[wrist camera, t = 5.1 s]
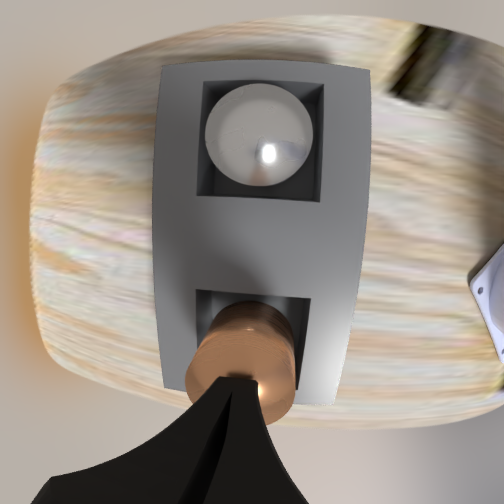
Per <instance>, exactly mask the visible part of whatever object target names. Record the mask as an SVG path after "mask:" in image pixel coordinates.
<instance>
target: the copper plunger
mask: <svg viewBox="0 0 504 504" xmlns="http://www.w3.org/2000/svg"><path fill="white" fill-rule="evenodd" d="M219 376H223V377H231V378H240V379H249V380H256V381H257V382H258V383H259V385H258V394H259V401H260V406H261V410H262V414H263V417H264V421H265V424H266V425H269V424H271V423H273V422H276V421H277V420H279V419H280V418H282V417H283V416H284V415H285V414H286V413H287V412H288V411H289V409H290V408H291V406H292V404H293V402H294V399H295V391H296V390H295V358H294V336H293V330H292V327H291V325H290V323H289V321H288V320H287V318H286V317H285V316H284V315H283V314H282V313H281V312H280V311H279V310H277V309H276V308H275V307H273V306H271V305H269V304H266V303H263V302H259V301H251V300H246V301H239V302H235V303H232V304H230V305H228V306H226V307H225V308H223V309H222V310H221V311H220V312H219V313H218V314H217V315H216V316H215V318H214V319H213V321H212V323H211V325H210V327H209V329H208V331H207V333H206V334H205V336H204V338H203V340H202V342H201V344H200V346H199V348H198V350H197V351H196V353H195V355H194V357H193V359H192V361H191V363H190V365H189V367H188V369H187V371H186V375H185V387H186V391H187V394H188V396H189V398H190V400H191V402H192V403H193V404H194V403H195V402H196V401H197V400H198V399H199V398H200V397H201V396H202V395H203V393H204V392H205V391H206V390H207V389H208V388H209V387H210V385H211V384H212V383H213V382H214V381H215V379H216V378H217V377H219Z"/></svg>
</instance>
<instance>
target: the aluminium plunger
mask: <svg viewBox="0 0 504 504" xmlns="http://www.w3.org/2000/svg"><path fill="white" fill-rule="evenodd" d="M312 140H313V128H312V123H311V119H310V116H309V114H308V112H307V110H306V109H305V107H304V106H303V104H302V103H301V102H300V101H299V100H298V99H297V98H296V97H295V96H294V95H293V94H291V93H290V92H288V91H287V90H284V89H282V88H280V87H277V86H274V85H269V84H250V85H245V86H242V87H239V88H237V89H234V90H232V91H231V92H229V93H227V94H226V95H225V96H224V97H222V98H221V99H220V100H219V101H218V102H217V104H216V105H215V106H214V108H213V109H212V111H211V113H210V115H209V117H208V120H207V124H206V129H205V141H206V147H207V150H208V153H209V155H210V158H211V159H212V161H213V163H214V164H215V165H216V167H217V168H218V169H219V170H220V171H221V172H222V173H223V174H225V175H226V176H227V177H229V178H231V179H232V180H234V181H237V182H239V183H242V184H246V185H252V186H274V185H277V184H280V183H283V182H285V181H286V180H288V179H289V178H291V177H292V176H293V175H294V174H295V173H296V172H297V171H298V169H299V168H300V167H301V166H302V164H303V163H304V162H305V160H306V158H307V157H308V154H309V152H310V149H311V146H312Z"/></svg>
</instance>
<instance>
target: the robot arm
mask: <svg viewBox="0 0 504 504" xmlns="http://www.w3.org/2000/svg"><path fill="white" fill-rule="evenodd" d="M479 288H480V290H479V292H478V289H479ZM470 289H471V291H472V293H473V295H474V297H475V300H476V302H477V304H478V306H479V308H480V311H481V313H482V315H483V318H484V320H485V322H486V325H487V327H488V330H489V332H490V335H491V338H492V340H493V343H494V346H495V348H496V351H497V354H498V357H499V360H500V361H501V362H502V363H504V244H503V245H502V246H501V247H500V249H499V250H498V251H497V252H496V253H495V254H494V256H493V257H492V258H491V259H490V260H489V261H488V263H487V264H486V265H485V266H484V267H483V268H482V269H481V270H480V271H479V272H478V274H477V275H476V276H475V277H474V278H473V279H472V280H471V283H470ZM258 385H259V383H258V382H257V381H256V380H249V379H240V378H231V377H223V376H219V377H217V378H216V379H215V381H214V382H213V383H212V384H211V385H210V387H209V388H208V389H207V390H206V391H205V392H204V393H203V395H202V396H201V397H200V398H199V399H198V400H197V401H196V402H195V403H194V404H193V405H192V406H191V407H190V408H189V409H188V410H187V411H186V412H185V413H183V414H182V415H181V416H180V417H179V418H178V419H176V420H175V421H174V422H173V423H172V424H170V425H169V426H168V427H167V428H165V429H164V430H163V431H161V432H160V433H159V434H157V435H156V436H154V437H153V438H151V439H150V440H148V441H147V442H145V443H143V444H142V445H140V446H138V447H136V448H134V449H133V450H131V451H129V452H127V453H125V454H123V455H121V456H119V457H117V458H114V459H112V460H109V461H107V462H104V463H102V464H99V465H96V466H94V467H91V468H88V469H84V470H81V471H76V472H72V473H69V474H63V475H59V476H53V477H51V478H50V479H49V480H48V481H47V482H46V483H45V484H44V486H43V487H42V489H41V490H40V491H39V493H38V494H37V496H36V497H35V498H34V500H33V501H32V503H31V504H309V503H308V502H307V501H306V499H305V498H304V496H303V495H302V494H301V492H300V491H299V489H298V488H297V487H296V485H295V484H294V482H293V481H292V479H291V478H290V476H289V474H288V473H287V471H286V469H285V467H284V466H283V464H282V462H281V460H280V458H279V456H278V454H277V452H276V450H275V447H274V445H273V443H272V440H271V438H270V436H269V433H268V430H267V427H266V424H265V421H264V417H263V414H262V410H261V406H260V401H259V394H258Z"/></svg>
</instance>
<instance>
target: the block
mask: <svg viewBox="0 0 504 504" xmlns="http://www.w3.org/2000/svg"><path fill="white" fill-rule="evenodd" d="M250 84H269V85H274V86H277V87H280V88H282V89H284V90H287V91H288V92H290V93H291V94H293V95H294V96H295V97H296V98H297V99H298V100H299V101H300V102H301V103H302V104H303V106H304V107H305V109H306V110H307V112H308V114H309V116H310V119H311V123H312V128H313V140H312V146H311V149H310V152H309V154H308V157H307V158H306V160H305V162H304V163H303V164H302V166H301V167H300V168H299V169H298V171H297V172H296V173H295V174H294V175H293V176H292V177H291V178H289V179H288V180H286V181H285V182H283V183H280V184H277V185H274V186H252V185H246V184H242V183H239V182H237V181H234V180H232V179H231V178H229V177H227V176H226V175H225V174H223V173H222V172H221V171H220V170H219V169H218V168H217V167H216V165H215V164H214V163H213V161H212V159H211V158H210V155H209V153H208V150H207V147H206V141H205V129H206V124H207V120H208V117H209V115H210V113H211V111H212V109H213V108H214V106H215V105H216V104H217V102H218V101H219V100H220V99H221V98H222V97H224V96H225V95H226V94H227V93H229V92H231V91H232V90H234V89H237V88H239V87H242V86H245V85H250ZM370 165H371V84H370V70H367V69H361V68H355V67H348V66H341V65H334V64H325V63H315V62H304V61H288V60H219V61H203V62H191V63H181V64H173V65H165V66H162V72H161V80H160V88H159V97H158V107H157V118H156V130H155V145H154V163H153V194H152V242H153V273H154V292H155V307H156V319H157V331H158V341H159V350H160V359H161V367H162V375H163V382H164V388H168V389H173V390H178V391H184V392H187V391H186V387H185V375H186V371H187V369H188V367H189V365H190V363H191V361H192V359H193V357H194V355H195V353H196V351H197V350H198V348H199V346H200V344H201V342H202V340H203V338H204V336H205V334H206V333H207V331H208V329H209V327H210V325H211V323H212V321H213V319H214V318H215V316H216V315H217V314H218V313H219V312H220V311H221V310H222V309H223V308H225V307H226V306H228V305H230V304H232V303H235V302H239V301H246V300H251V301H259V302H263V303H266V304H269V305H271V306H273V307H275V308H276V309H277V310H279V311H280V312H281V313H282V314H283V315H284V316H285V317H286V318H287V320H288V321H289V323H290V325H291V327H292V330H293V336H294V358H295V390H296V391H295V399H294V402H293V404H302V405H333V404H334V400H335V397H336V393H337V389H338V385H339V381H340V377H341V373H342V369H343V365H344V360H345V356H346V351H347V347H348V342H349V337H350V332H351V327H352V322H353V316H354V311H355V305H356V299H357V293H358V287H359V280H360V273H361V266H362V259H363V251H364V242H365V233H366V223H367V212H368V200H369V185H370Z"/></svg>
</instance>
